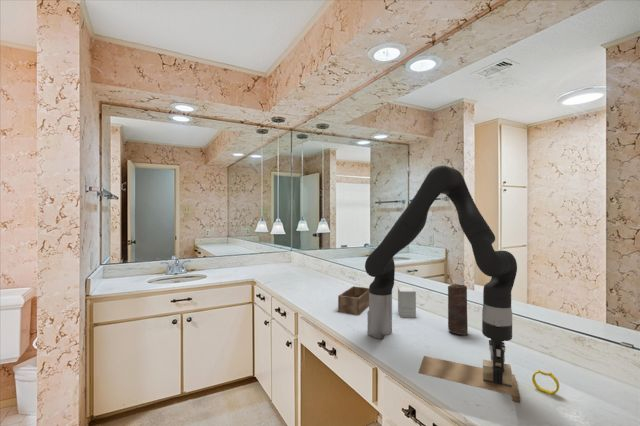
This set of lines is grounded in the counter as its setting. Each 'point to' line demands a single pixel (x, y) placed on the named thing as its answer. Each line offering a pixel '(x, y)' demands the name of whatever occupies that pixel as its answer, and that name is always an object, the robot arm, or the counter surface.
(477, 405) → the counter surface
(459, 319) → the rusty brown cylinder
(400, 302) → the supplement box
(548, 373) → the yellow wavy ring
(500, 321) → the robot arm
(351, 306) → the open wooden box
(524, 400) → the counter surface
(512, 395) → the board
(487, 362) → the block
